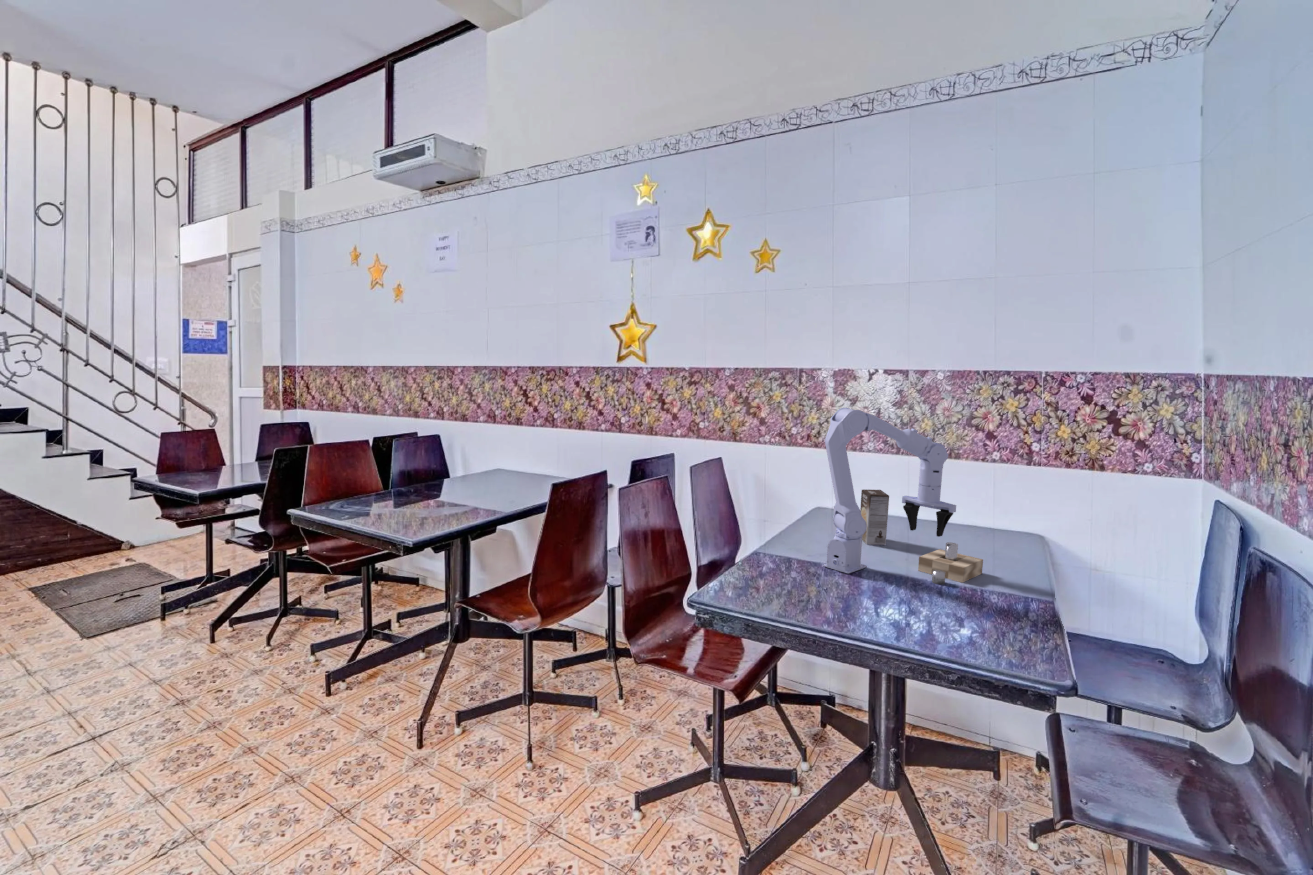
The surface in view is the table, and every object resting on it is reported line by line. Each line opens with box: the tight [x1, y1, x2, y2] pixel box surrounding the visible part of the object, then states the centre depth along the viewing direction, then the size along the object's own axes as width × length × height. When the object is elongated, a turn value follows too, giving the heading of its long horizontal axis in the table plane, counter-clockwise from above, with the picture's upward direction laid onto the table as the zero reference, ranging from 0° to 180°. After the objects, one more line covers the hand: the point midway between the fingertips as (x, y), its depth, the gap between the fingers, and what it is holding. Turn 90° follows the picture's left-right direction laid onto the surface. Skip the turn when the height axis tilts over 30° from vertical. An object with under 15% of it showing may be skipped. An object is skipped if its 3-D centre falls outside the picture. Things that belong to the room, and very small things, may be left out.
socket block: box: [917, 548, 984, 584], centre depth 171 cm, size 12×12×4 cm
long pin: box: [944, 541, 959, 562], centre depth 171 cm, size 3×3×8 cm
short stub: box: [931, 570, 946, 586], centre depth 163 cm, size 3×3×3 cm
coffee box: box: [859, 489, 890, 546], centre depth 200 cm, size 9×6×16 cm
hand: (926, 532), depth 175 cm, fingers open, 7 cm apart
